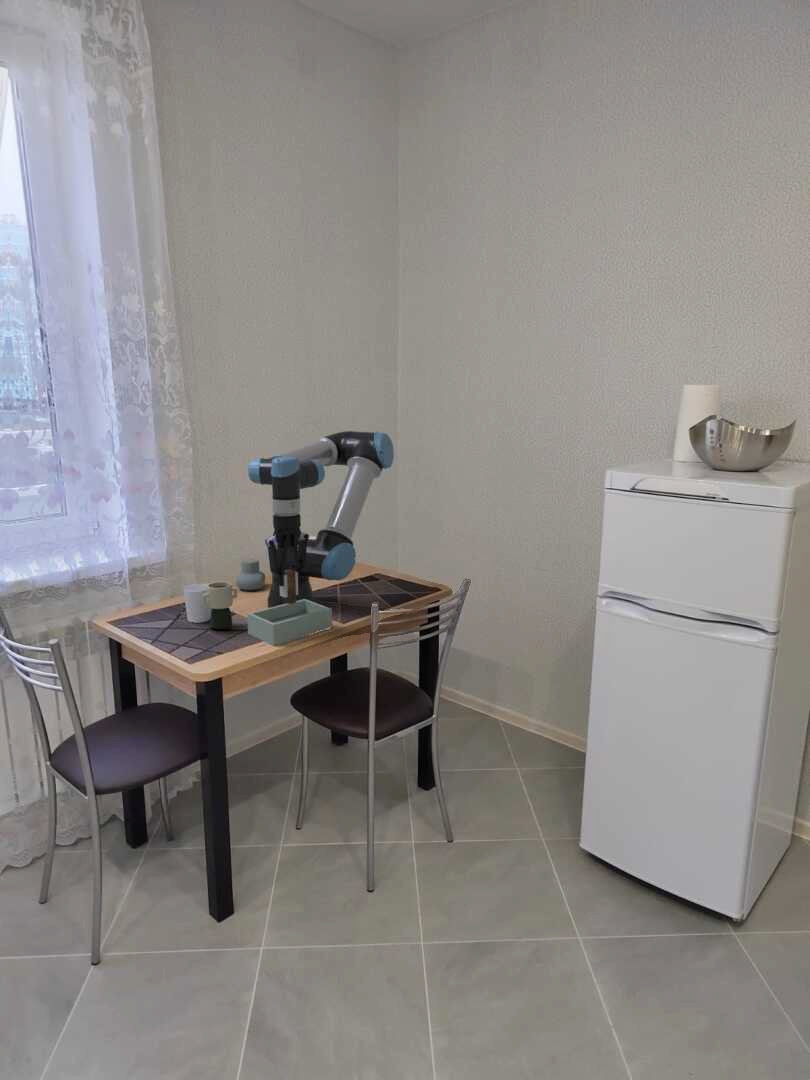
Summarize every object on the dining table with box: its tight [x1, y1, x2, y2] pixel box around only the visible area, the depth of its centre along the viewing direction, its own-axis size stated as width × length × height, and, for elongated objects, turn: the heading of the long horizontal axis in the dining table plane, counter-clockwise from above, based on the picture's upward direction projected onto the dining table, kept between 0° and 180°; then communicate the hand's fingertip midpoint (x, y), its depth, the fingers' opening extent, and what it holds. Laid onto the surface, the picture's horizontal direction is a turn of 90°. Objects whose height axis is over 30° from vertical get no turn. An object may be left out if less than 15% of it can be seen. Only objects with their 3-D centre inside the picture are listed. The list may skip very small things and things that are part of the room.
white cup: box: [183, 583, 212, 624], centre depth 212 cm, size 8×8×10 cm
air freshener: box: [235, 557, 266, 591], centre depth 244 cm, size 11×8×10 cm
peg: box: [283, 570, 296, 604], centre depth 201 cm, size 4×4×9 cm
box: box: [246, 599, 333, 647], centre depth 203 cm, size 20×13×6 cm, turn 134°
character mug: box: [202, 581, 238, 630], centre depth 205 cm, size 11×7×13 cm, turn 132°
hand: (289, 594), depth 201 cm, fingers closed on peg, 3 cm apart
